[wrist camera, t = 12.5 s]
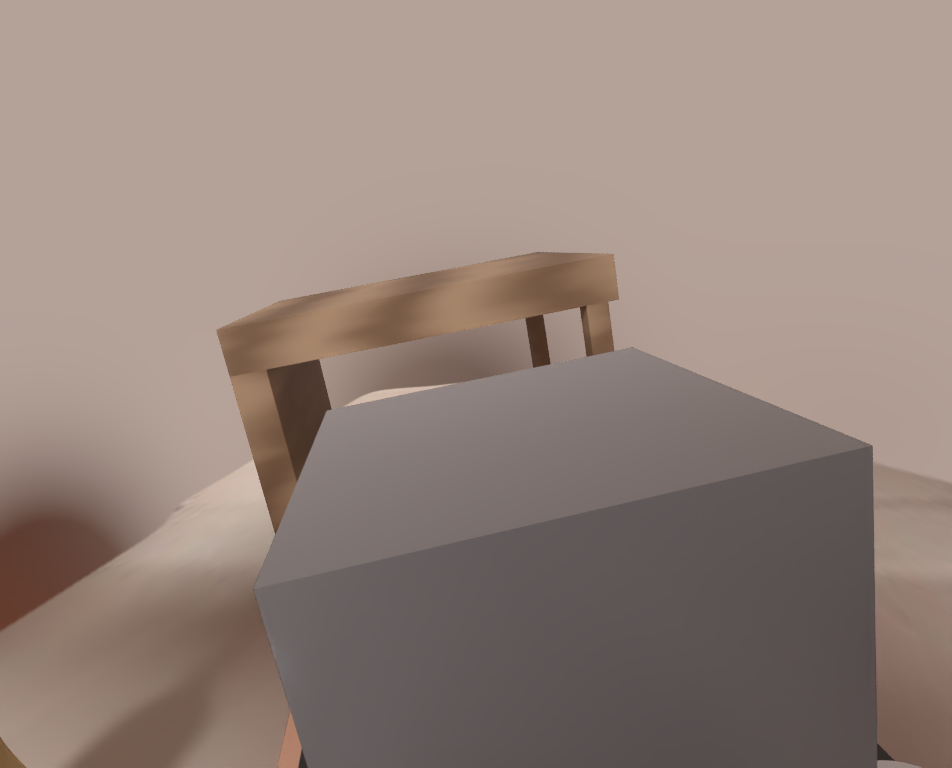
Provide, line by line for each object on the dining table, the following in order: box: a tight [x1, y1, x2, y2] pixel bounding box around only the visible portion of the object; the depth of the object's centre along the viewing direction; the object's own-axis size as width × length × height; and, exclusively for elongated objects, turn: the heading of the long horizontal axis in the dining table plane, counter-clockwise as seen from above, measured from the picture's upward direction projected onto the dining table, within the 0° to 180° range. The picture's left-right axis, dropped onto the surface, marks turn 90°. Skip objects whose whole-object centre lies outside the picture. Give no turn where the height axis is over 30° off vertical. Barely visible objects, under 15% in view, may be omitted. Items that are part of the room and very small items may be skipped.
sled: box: [253, 347, 877, 768], centre depth 15 cm, size 12×20×14 cm, turn 8°
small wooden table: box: [217, 252, 619, 535], centre depth 33 cm, size 17×14×14 cm
